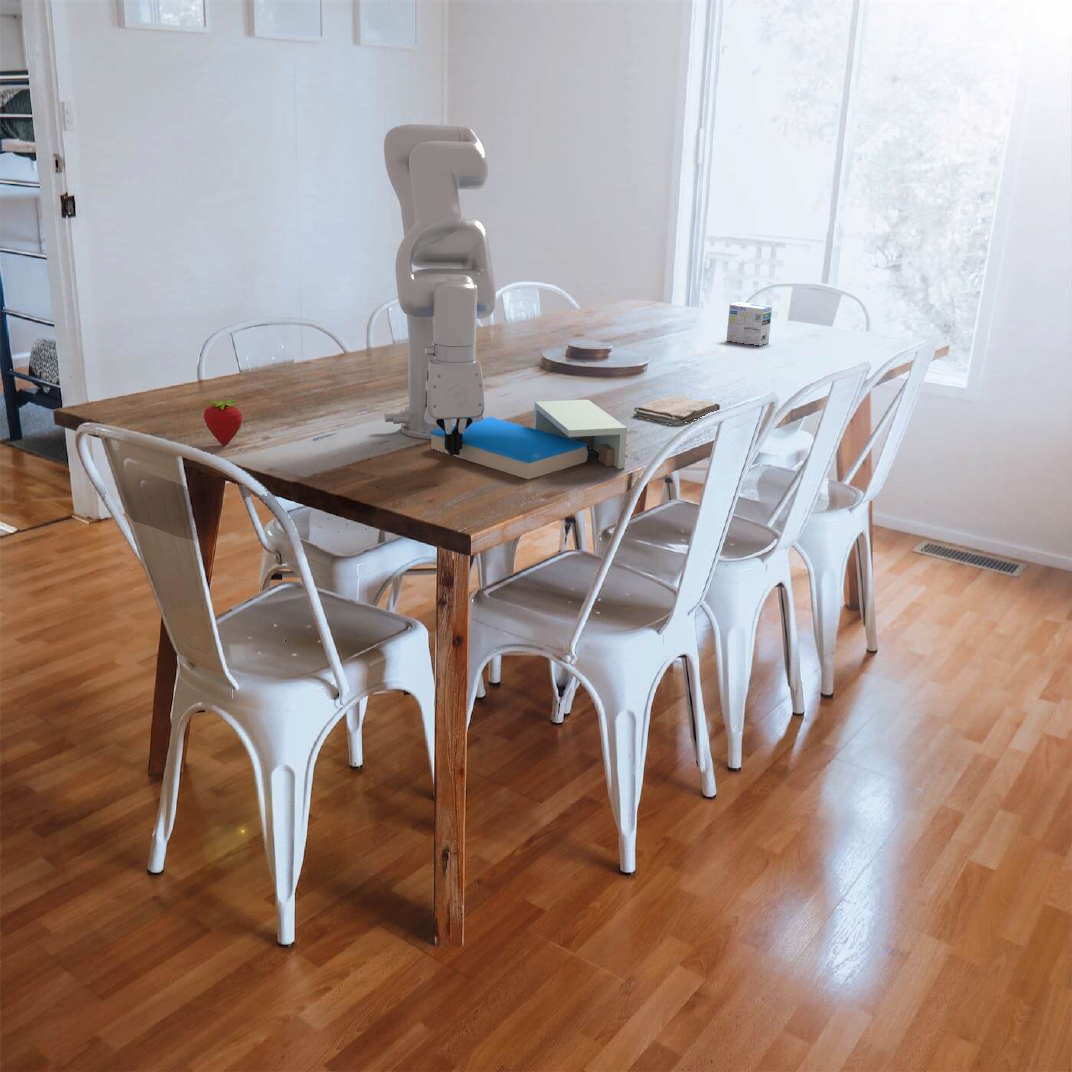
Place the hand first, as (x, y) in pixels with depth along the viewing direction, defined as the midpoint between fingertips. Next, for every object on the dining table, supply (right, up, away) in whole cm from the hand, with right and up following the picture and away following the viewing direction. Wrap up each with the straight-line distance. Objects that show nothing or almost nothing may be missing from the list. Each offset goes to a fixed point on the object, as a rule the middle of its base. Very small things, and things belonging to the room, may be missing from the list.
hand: (453, 452), depth 205 cm
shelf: (+23, 0, +7) cm, 24 cm away
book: (+10, -1, +6) cm, 11 cm away
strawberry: (-43, +2, +4) cm, 43 cm away
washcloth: (+45, +11, +39) cm, 61 cm away
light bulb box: (+76, +40, +119) cm, 147 cm away
